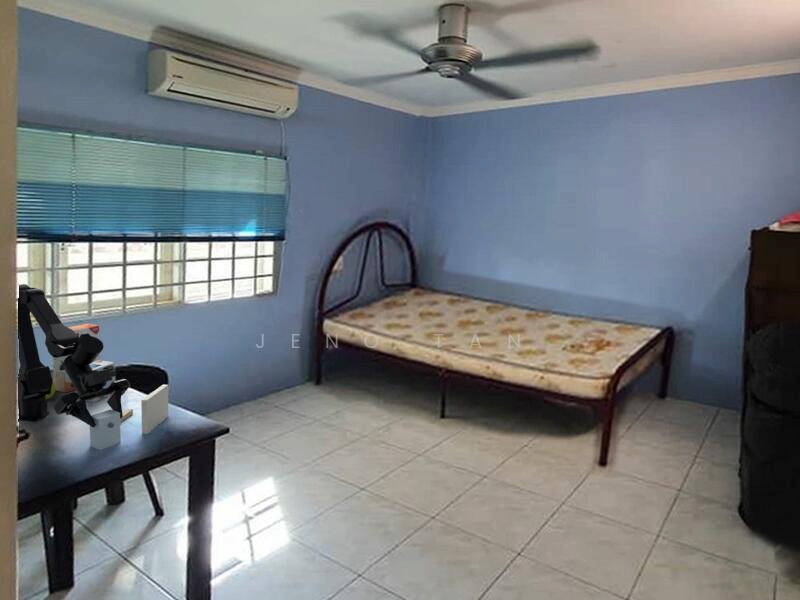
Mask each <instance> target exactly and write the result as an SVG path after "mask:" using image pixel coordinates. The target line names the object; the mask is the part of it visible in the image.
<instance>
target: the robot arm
mask: <svg viewBox="0 0 800 600" xmlns="http://www.w3.org/2000/svg"><path fill="white" fill-rule="evenodd" d="M18 285H19V298H18V339H19V356H18V360H19V364H20V366H19V368H18V370H19V374H18V376H19V377H18V401H17V410H18V409H19V414H18V416H19V420H18V421H33V422H34V421H39V420H41V419H42V418H44V417H45V416H48V415H49V414H50V411H48V400H47V399H45V395H49V394H51V389H52V384H53V375H52V373H51V368H50V366H49V365H44V364H43V362H42V361H41V359H40V355H39V350H38V346H37V345H38V344H37V342H36V336H35V331H34V327H33V322H32V319H31V315H32V316H33V318H34V319H35V321H36V323H37V324H38V326H39V327H40V328H41V330H42V332H43V333H44V335H45V342H44V344H45V347H46V349H47V352H48V354H49V355H50V356H51V357H52V358H53V357H55V358H59V357H64V356H68V357H66V358H65V360H62V361H61V365H60V371H62V370H65V371H66V373H67V374H68V376H69V378H70V380H71V382H72V383H71V385H70V386H71V388H74V387H75V389H76V392H75V391H73V392H69V393H68V392H67V393H65V394H61V395H60V396H59V399H57V401H56V402H55V403H54V405H53V410H54V412H55V413H56V415H57V416H59V415H62V414H65V415H66V416H69V415H70V416H72V417H74V418H76V419H78V420H80V421H81V422H83V423H85V424H87V425H88V426H89V427H90V426H91V427H93V428H94V427H95V426H96V424H95V421H94V419H93V418H92V416H91V415H92V414H91V412H90V411H89V409H88V408H87V402H89V401H88V400H92V399H95V398H99V397H102V396H106V395H107V398H108V400H107V401H106V403H107V405H108V406H109V407H110V408H111V410H113V411H116V412H119V413H120V419H121V418H122V417H123V414H122V413H123V407H122V396H123V395H124V394H125V393H127V392H126V391H127V390H129V389H130V387H131V384H130V382H129V381H128V379H125V378H122V379H118V380H115V381H113V382H112V383H111V385H110V386H109V387H108V388H104V389H103V386H105V385H106V384H107V383H106V382H107V381H111V380H113V379H112V377H114V376H115V377H116V376H117V374H118V373H117V371H116V367H115V368H114V367H113V365H110V366H106V367H104V368H103V370H101V371H97V370H92V368H91V366H90V365H89V364H91V363H93V362H94V360H95V359H96V358H97V356H98V355H99V354H101V353H102V351H103V350H104V343H103V341H102V340H100V338H99V339H98V338H96V337H93V336H90V334H89V333H85V334H81V336H80V337H78V335H77V334H76V333H75V332H74V331H73V330H72V329H70V328H68V327H69V326H66V325H64V324H63V323H62V321H61V319H60V318H59V316H58V314H57V313H56V311H55V310H54V309H53V307H52V305H51V304H50V303H49V302H48V299H47V298H46V295H45V291H44V290H43V289H41V288H37V287H32V286H31V287H30V286H29V285H28V284H26V283H22V284H18ZM77 392H78V393H77ZM78 394H79V395H78ZM21 419H22V420H21Z"/></svg>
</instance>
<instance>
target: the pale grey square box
mask: <svg viewBox="0 0 800 600" xmlns="http://www.w3.org/2000/svg"><path fill="white" fill-rule="evenodd" d="M91 416H92V418H93V419H94V421H95V424H96V426H95V427H94V428H93V427H91V426H90V425H89V440H90V442H89V443H90V447H91V448H94V449H96V450H99V451H101V450H104V449H107V448H109V447H112V446H115V445H117V444H120V443H121V441H122V440H121V439H122V437H121V423H120V413H119V412H116V411H113V410H112V409H107V410H105V411H101V412H98V413H94V414H91Z"/></svg>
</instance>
